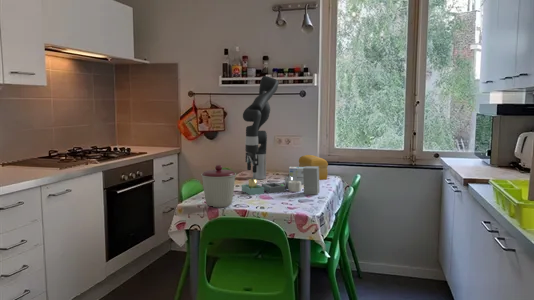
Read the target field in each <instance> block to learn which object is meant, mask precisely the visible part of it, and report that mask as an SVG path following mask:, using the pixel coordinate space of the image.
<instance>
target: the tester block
mask: <svg viewBox="0 0 534 300" xmlns="http://www.w3.org/2000/svg"><path fill="white" fill-rule="evenodd" d="M261 187H263V188H264V192H266V193H268V194H278V193H285V192H286V189H285V184H282V183H278V182H268V183H261Z"/></svg>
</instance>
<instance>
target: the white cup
mask: <svg viewBox="0 0 534 300" xmlns="http://www.w3.org/2000/svg"><path fill="white" fill-rule="evenodd" d="M287 190H288V191H289V192H290V193H291V192H292V193H299V192H301V191H302V184H301V182H300V181H289V182H288V189H287Z"/></svg>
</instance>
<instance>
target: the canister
mask: <svg viewBox="0 0 534 300" xmlns="http://www.w3.org/2000/svg"><path fill="white" fill-rule="evenodd" d="M200 176H201V177H202V185H203V193H204V194H203V195H204V200H205V203H206V205H207V206H208V205H209V206H208V207H210V206H213V207H212V208H225V207H229V206H231V204H232V202H233V198H234V192H235V191H234V190H235V181H236V176H237V173H236V172H234V171H233V170H231V169H230V170H229V169H223V166H222V165H221V164H216V165H215V167H214V169H208V170H205V171H203V172H202V173H201V174H200Z"/></svg>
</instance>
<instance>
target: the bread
mask: <svg viewBox="0 0 534 300" xmlns="http://www.w3.org/2000/svg"><path fill="white" fill-rule="evenodd" d="M298 163H299V164H298V167H306V166H312V167H319V181H324V180H325V181H326V180H328V166H329V163H328V161H327V160H326V159H324V158H322V157H319V156H316V155H312V154H305V155H302V156H301V157H299V159H298Z"/></svg>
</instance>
